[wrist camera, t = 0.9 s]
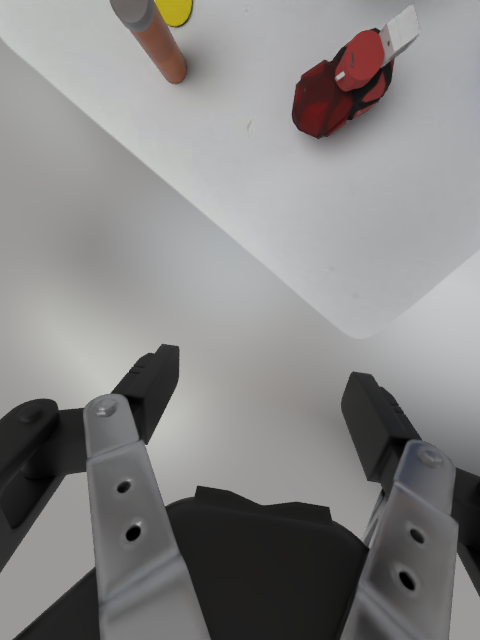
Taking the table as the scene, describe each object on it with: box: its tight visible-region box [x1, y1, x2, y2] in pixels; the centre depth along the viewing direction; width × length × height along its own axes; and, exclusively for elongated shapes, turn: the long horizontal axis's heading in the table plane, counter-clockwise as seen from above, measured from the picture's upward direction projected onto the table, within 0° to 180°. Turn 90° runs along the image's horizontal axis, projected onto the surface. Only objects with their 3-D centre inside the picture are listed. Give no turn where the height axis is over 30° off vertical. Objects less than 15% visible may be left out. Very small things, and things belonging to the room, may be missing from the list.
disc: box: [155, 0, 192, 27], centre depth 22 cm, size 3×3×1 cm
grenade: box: [292, 4, 420, 139], centre depth 20 cm, size 5×8×10 cm, turn 126°
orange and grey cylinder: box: [110, 0, 187, 84], centre depth 20 cm, size 3×3×9 cm
